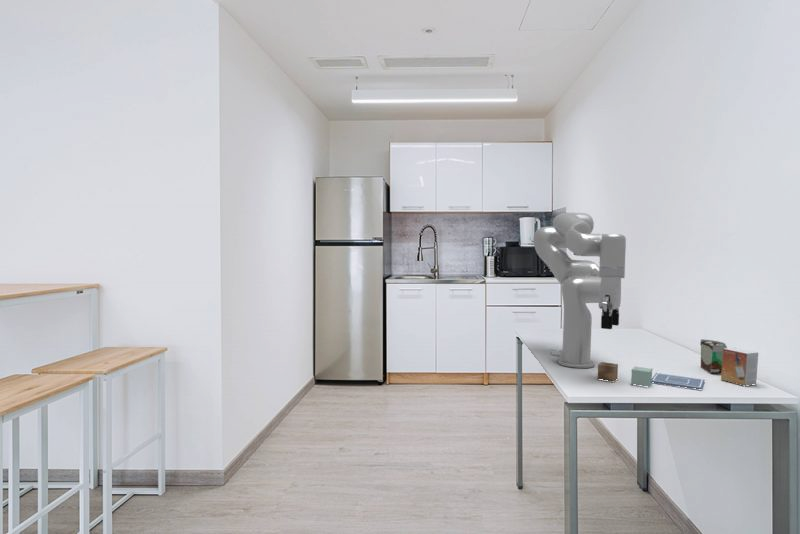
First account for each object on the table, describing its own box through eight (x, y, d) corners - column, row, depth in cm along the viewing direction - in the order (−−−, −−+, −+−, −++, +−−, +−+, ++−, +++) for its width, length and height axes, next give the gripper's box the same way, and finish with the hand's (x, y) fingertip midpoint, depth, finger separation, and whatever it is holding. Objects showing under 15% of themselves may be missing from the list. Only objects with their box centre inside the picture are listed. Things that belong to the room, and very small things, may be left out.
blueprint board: (650, 383, 166) (650, 380, 166) (656, 375, 176) (656, 372, 176) (701, 390, 158) (701, 387, 158) (704, 382, 168) (704, 379, 168)
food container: (732, 376, 176) (733, 346, 176) (712, 375, 177) (713, 345, 177) (717, 367, 188) (719, 340, 188) (699, 366, 189) (700, 339, 189)
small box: (720, 380, 171) (722, 348, 170) (732, 379, 173) (733, 347, 172) (745, 387, 163) (746, 353, 163) (756, 385, 165) (758, 352, 165)
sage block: (631, 385, 163) (631, 369, 162) (634, 382, 167) (634, 366, 167) (648, 388, 160) (649, 372, 160) (651, 384, 164) (652, 368, 164)
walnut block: (597, 380, 168) (598, 364, 168) (601, 377, 172) (601, 361, 172) (614, 382, 166) (614, 367, 165) (617, 379, 170) (617, 364, 169)
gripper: (605, 271, 176) (603, 322, 177) (592, 273, 162) (591, 329, 163) (629, 272, 172) (627, 324, 173) (618, 274, 158) (616, 331, 159)
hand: (610, 326), depth 168 cm, fingers open, 9 cm apart
